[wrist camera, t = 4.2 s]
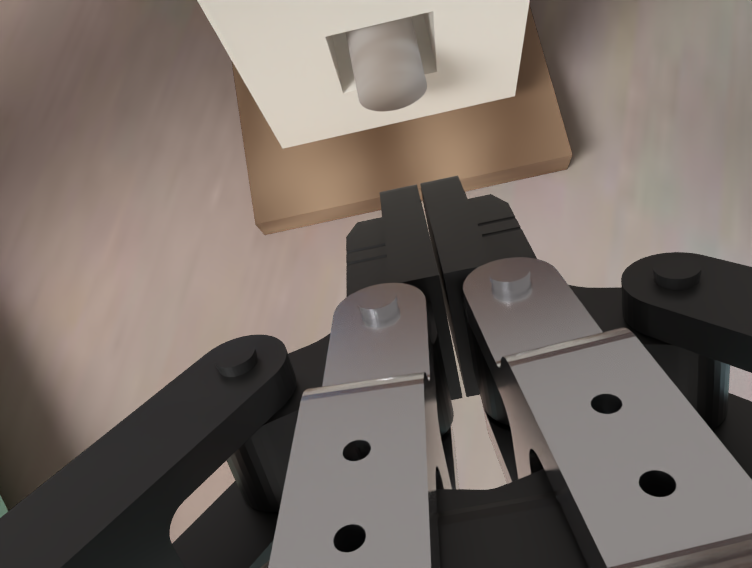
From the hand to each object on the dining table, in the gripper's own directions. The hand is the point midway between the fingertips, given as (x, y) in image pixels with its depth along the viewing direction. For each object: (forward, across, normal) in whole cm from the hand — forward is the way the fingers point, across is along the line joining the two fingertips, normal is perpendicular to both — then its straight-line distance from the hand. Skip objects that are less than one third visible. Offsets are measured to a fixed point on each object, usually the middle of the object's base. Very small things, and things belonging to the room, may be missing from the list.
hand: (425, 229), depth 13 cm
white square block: (+17, 0, +2) cm, 18 cm away
